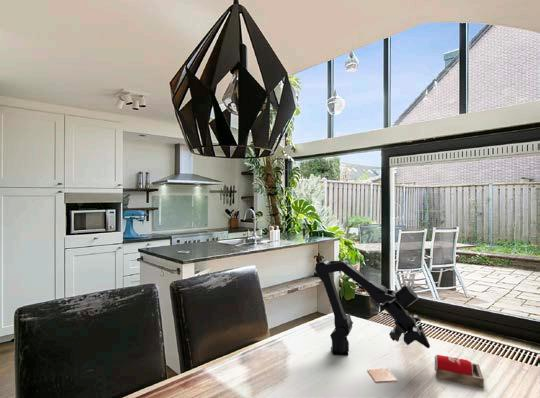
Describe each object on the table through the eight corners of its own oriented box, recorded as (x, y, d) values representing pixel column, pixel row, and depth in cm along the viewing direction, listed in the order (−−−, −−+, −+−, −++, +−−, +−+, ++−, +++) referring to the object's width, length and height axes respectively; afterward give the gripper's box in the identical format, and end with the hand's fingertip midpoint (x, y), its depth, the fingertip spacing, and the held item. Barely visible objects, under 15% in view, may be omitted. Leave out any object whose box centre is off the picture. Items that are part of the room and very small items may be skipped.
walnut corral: (436, 378, 118) (436, 369, 118) (435, 364, 128) (435, 356, 128) (483, 387, 112) (483, 379, 112) (478, 372, 122) (478, 364, 122)
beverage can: (434, 360, 126) (470, 367, 121) (434, 375, 121) (472, 383, 116) (434, 350, 123) (471, 357, 118) (435, 365, 118) (473, 373, 113)
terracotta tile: (375, 384, 116) (375, 381, 116) (367, 372, 124) (367, 369, 124) (397, 382, 116) (397, 380, 116) (387, 371, 124) (387, 368, 124)
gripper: (385, 317, 140) (413, 348, 135) (380, 334, 123) (411, 370, 118) (405, 302, 136) (434, 333, 132) (403, 317, 119) (436, 353, 115)
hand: (429, 347), depth 124 cm, fingers closed
